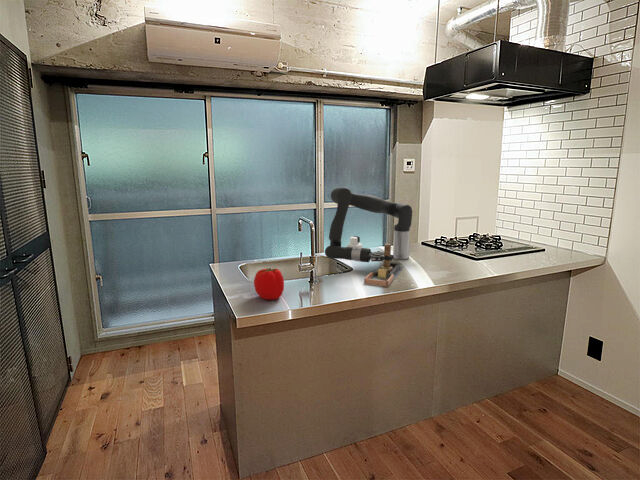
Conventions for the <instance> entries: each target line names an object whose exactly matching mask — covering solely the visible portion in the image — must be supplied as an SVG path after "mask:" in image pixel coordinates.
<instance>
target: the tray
mask: <svg viewBox="0 0 640 480" xmlns="http://www.w3.org/2000/svg"><path fill="white" fill-rule="evenodd" d="M373 272H374V271H370V273H368V275H366V276H365V277H364V279H363V284H364V285H372V286H380V287H387V288H388V287H389V286H390V284H392V282H393V280H395V279H394V274H392V275H391V276H390V278H387V280H382V279H372V278H373V277H374V276H373Z"/></svg>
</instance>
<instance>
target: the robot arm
mask: <svg viewBox="0 0 640 480" xmlns="http://www.w3.org/2000/svg"><path fill="white" fill-rule="evenodd" d="M330 198H331V200H332V202H333V203H334V204H337V207H336V212H335V215H334V217H333V219H332V220H331V221H332V222H331V224H330V228H329V234H328V240H329V241H330V242H329V246H326V247H325V250H324V255H325V256H326V257H327V258H329V259H334V260H335V259H338V260H348V261H354V262H361V263H370V262H384V261H385V260H388V261H390V262H392V261H393V260H394V259H395V260H407V259H409V258H410V250H411V249H410V247H411V242H410V229H411V225H412V221H413V208H412V206H411V205H409V204H405V203H401V202H400V203H398V202H393V201H392V202H391V201H387V200H385V199H384V198H381V197H379V196H375V195H371V194H366V193H365V194H364V193H355V192H352V191H351V189H349V188H348V187H337V188H334V189H333V190H332V191H331V193H330ZM350 206H351V207H355V208H357V209H359V210H363V211H367V212H370V213H376V214H385V215H387V216H390V217H391V216H392V217H394V218H396V219H398V221H397V224H394V227H393V248H392V249H393V250H392V254H391V256H384V251H379V250H378V251H372V250H371V248H367V247H362V248H358V247H357V248H353V247H347V246H342V236H343V229H344V225H345V220H346V217H347V213H348V210H349V207H350Z"/></svg>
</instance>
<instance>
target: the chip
mask: <svg viewBox="0 0 640 480" xmlns="http://www.w3.org/2000/svg"><path fill="white" fill-rule="evenodd" d="M387 275H388V269H385V268H380V269H379V270H378V277H377V278H378V279H387V278H386V277H387Z"/></svg>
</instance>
